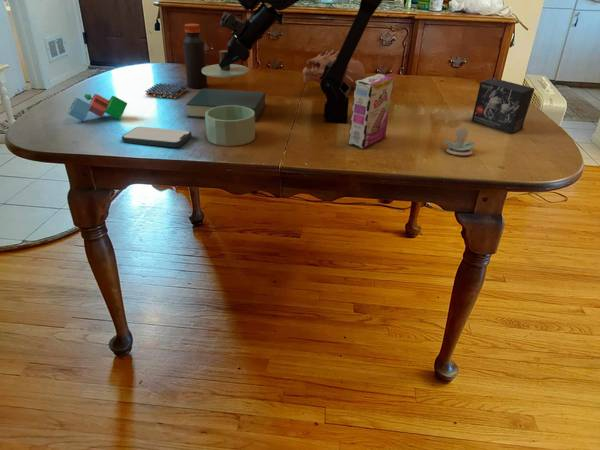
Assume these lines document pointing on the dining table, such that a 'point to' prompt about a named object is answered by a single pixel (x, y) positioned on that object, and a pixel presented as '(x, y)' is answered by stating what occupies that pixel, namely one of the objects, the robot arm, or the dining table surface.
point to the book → (225, 101)
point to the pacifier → (460, 143)
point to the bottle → (194, 57)
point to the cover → (225, 69)
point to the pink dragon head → (319, 62)
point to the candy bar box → (370, 110)
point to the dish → (230, 125)
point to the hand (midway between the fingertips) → (220, 65)
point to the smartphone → (157, 136)
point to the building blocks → (97, 107)
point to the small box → (502, 105)
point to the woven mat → (166, 90)
